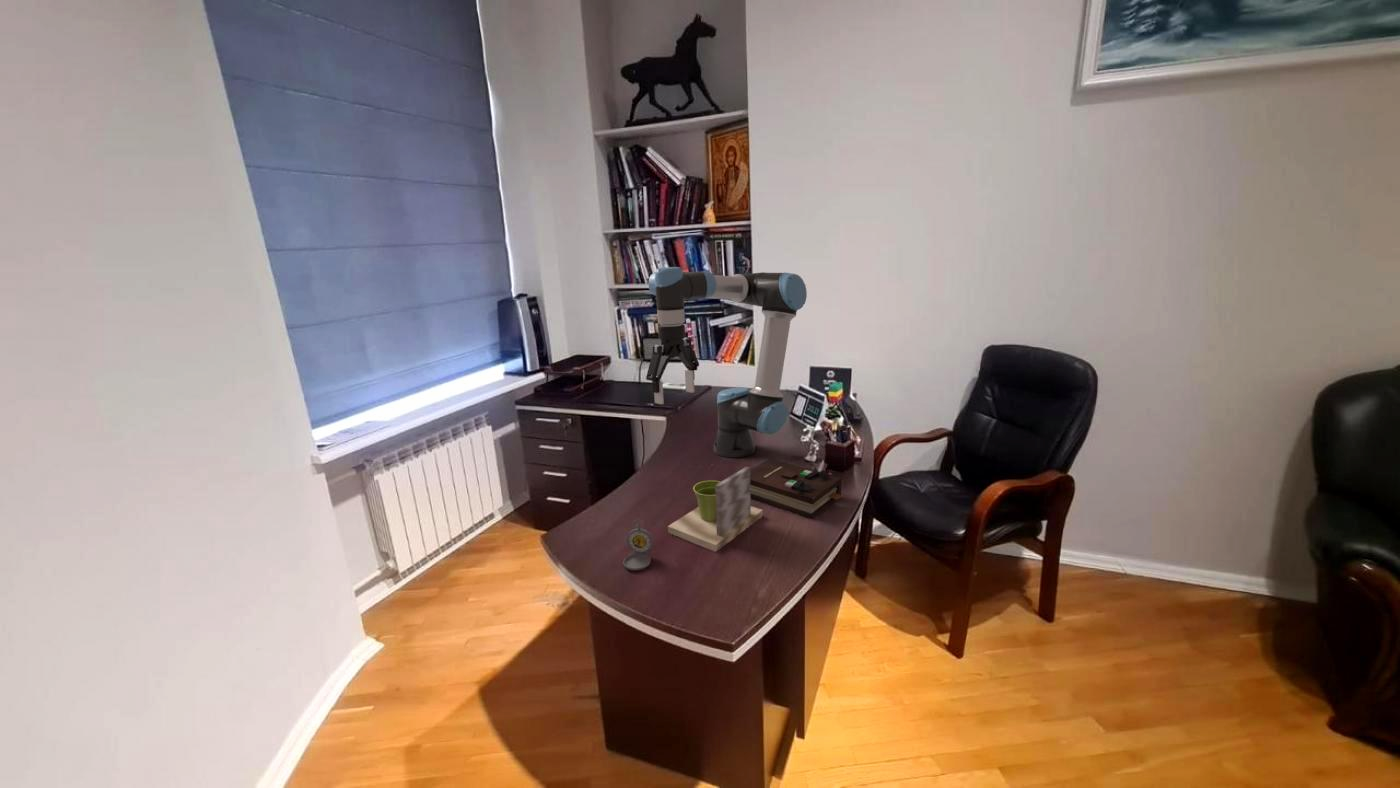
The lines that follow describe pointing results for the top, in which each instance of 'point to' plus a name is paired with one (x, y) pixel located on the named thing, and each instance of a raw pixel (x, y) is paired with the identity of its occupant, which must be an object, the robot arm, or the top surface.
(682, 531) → the shelf board
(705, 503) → the plant pot
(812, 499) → the decorative book
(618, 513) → the top surface
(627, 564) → the pocket watch
